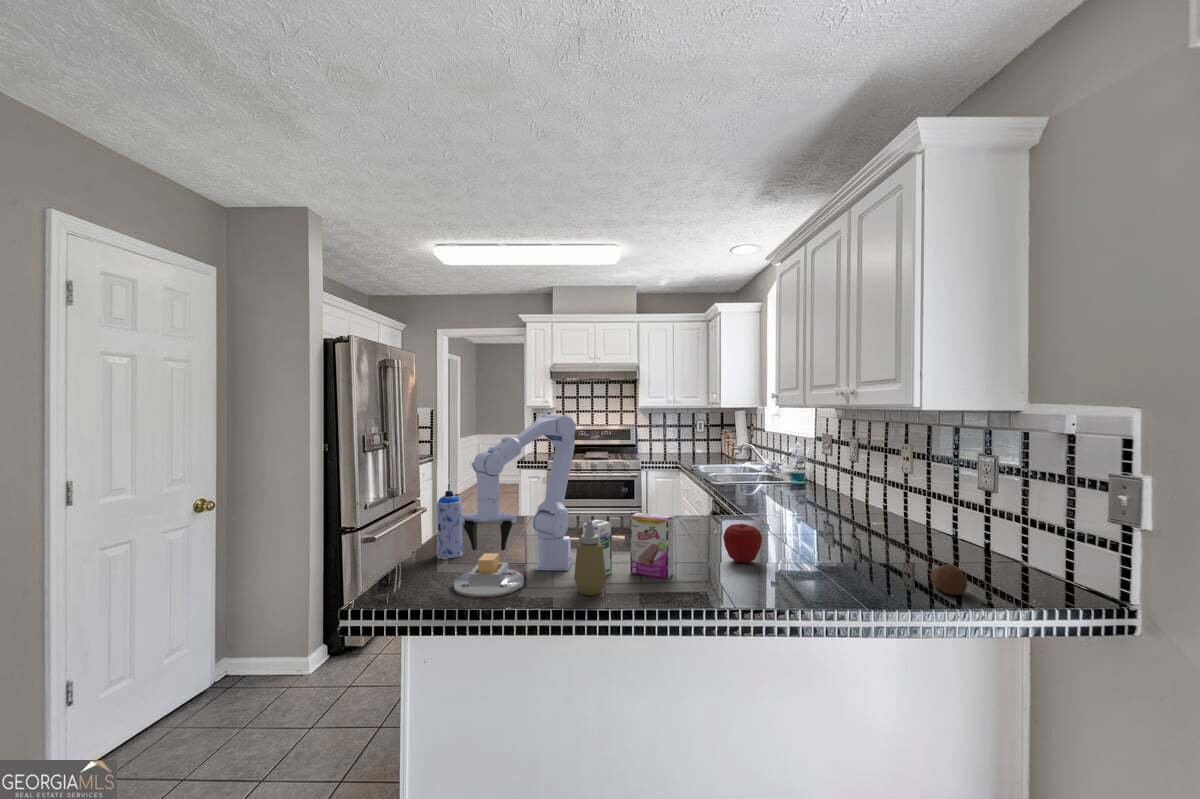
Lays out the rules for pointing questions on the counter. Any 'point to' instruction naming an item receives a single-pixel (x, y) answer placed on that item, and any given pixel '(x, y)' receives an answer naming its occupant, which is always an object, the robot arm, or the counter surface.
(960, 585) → the potato
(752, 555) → the apple
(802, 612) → the counter surface
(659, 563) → the candy bar box
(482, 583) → the gray round plate
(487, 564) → the tan rectangular block
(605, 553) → the syrup box
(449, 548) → the aerosol can
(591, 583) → the squeeze bottle
